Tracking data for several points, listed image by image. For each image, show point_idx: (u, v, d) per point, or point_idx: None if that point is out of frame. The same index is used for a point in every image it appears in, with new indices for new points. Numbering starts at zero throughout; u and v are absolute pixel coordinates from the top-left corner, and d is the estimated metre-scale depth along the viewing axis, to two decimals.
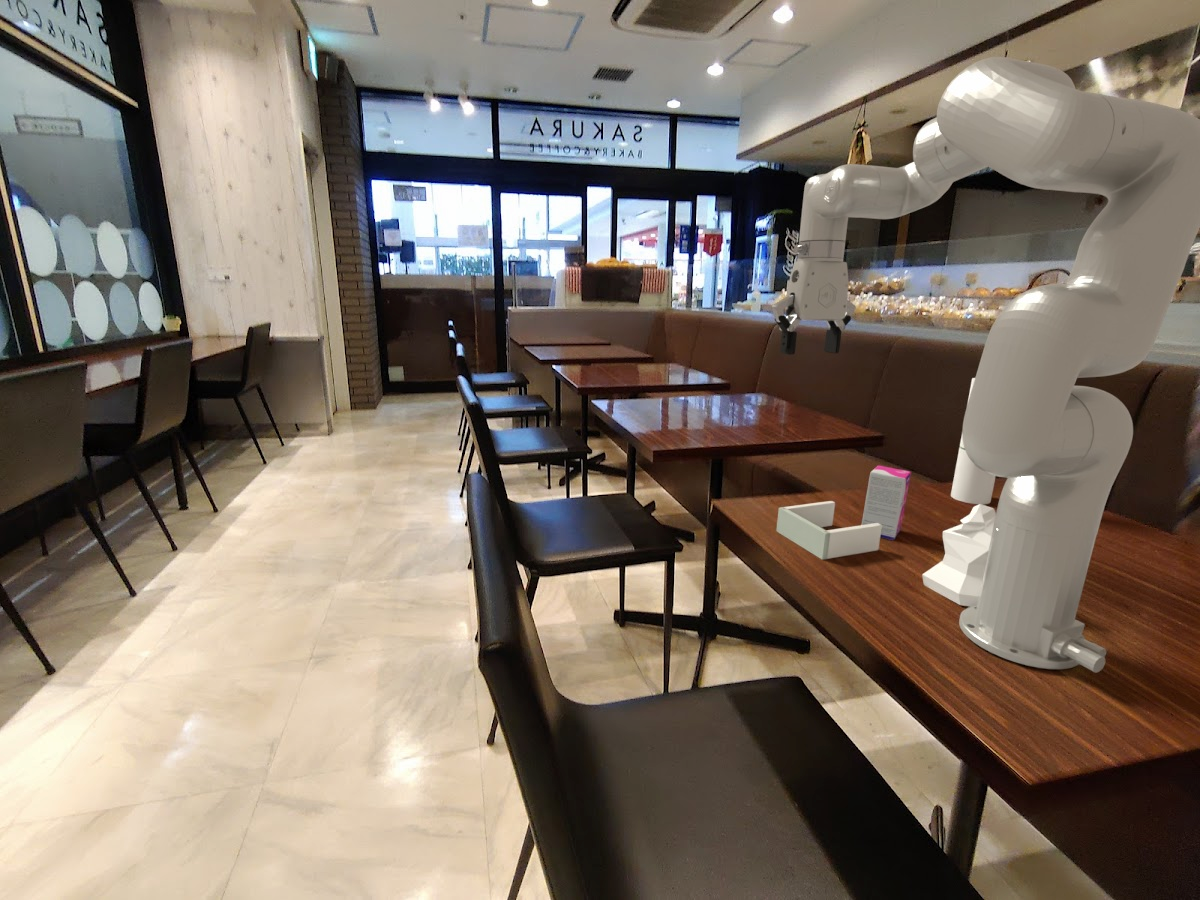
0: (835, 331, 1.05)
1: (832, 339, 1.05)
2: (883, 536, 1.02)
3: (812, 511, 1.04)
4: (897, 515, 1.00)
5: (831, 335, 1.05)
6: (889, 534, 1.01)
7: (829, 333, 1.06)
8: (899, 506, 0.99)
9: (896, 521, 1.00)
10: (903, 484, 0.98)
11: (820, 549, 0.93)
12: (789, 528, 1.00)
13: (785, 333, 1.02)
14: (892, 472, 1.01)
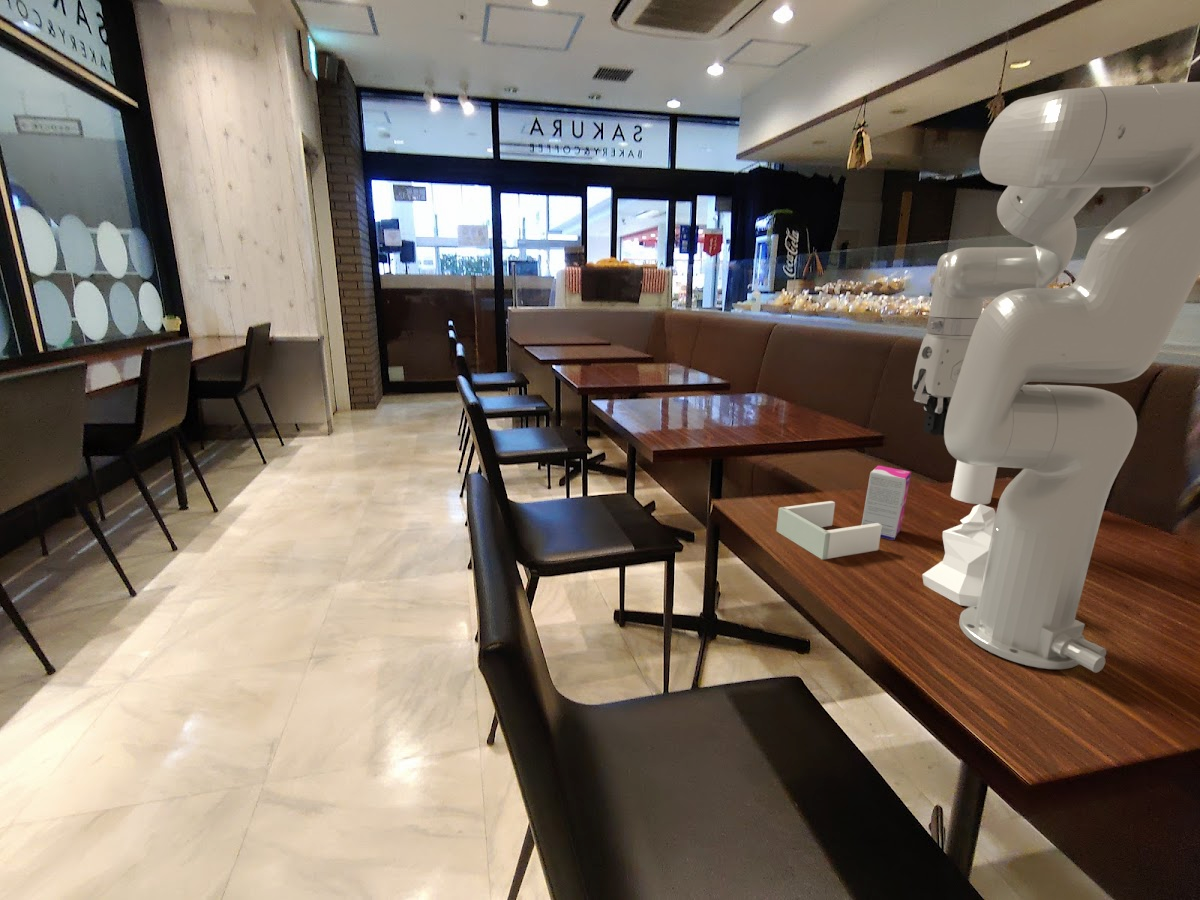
0: (941, 413, 1.01)
1: None
2: (883, 536, 1.02)
3: (812, 511, 1.04)
4: (897, 515, 1.00)
5: None
6: (889, 534, 1.01)
7: None
8: (899, 506, 0.99)
9: (896, 521, 1.00)
10: (903, 484, 0.98)
11: (820, 549, 0.93)
12: (789, 528, 1.00)
13: (932, 414, 1.01)
14: (892, 472, 1.01)
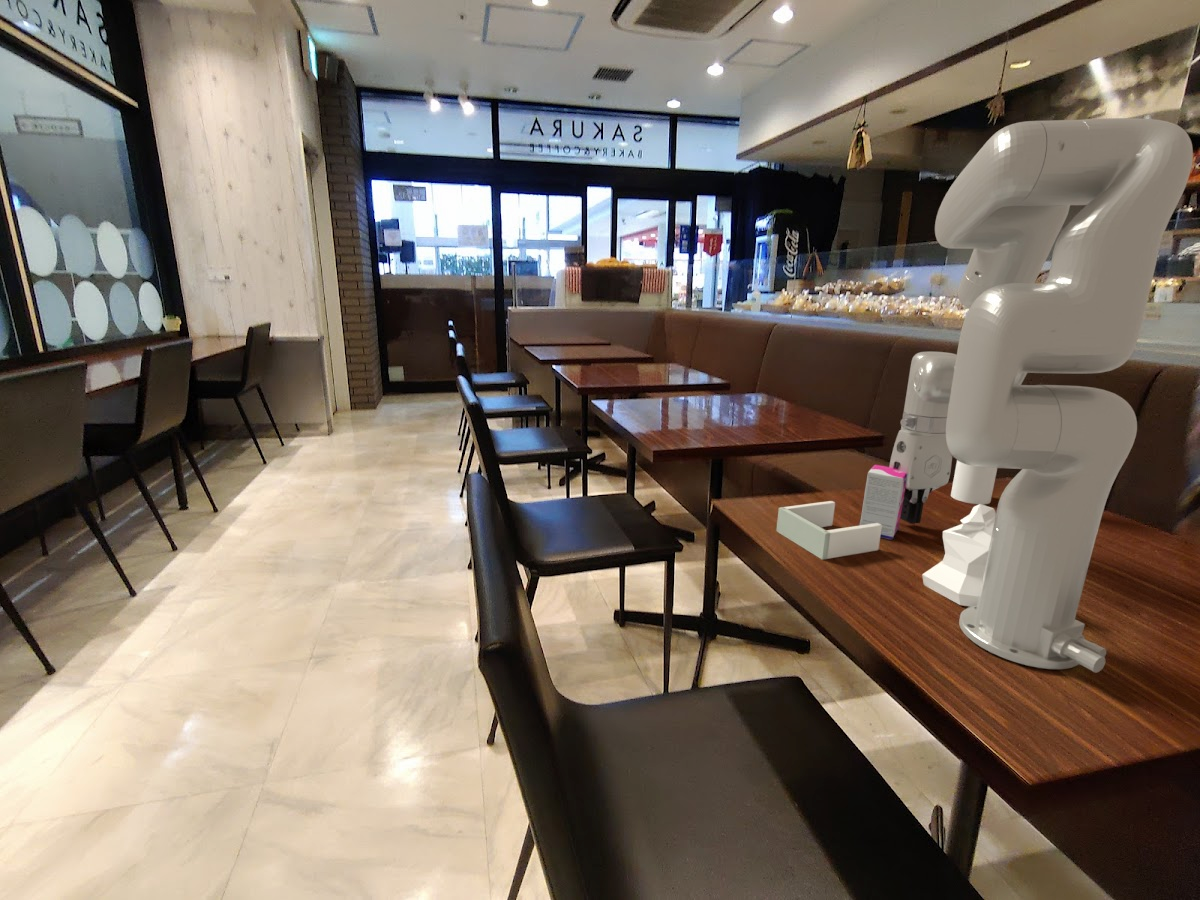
0: (917, 502, 1.05)
1: None
2: (882, 536, 1.02)
3: (812, 511, 1.04)
4: (895, 515, 1.00)
5: None
6: (888, 533, 1.01)
7: None
8: (897, 506, 0.99)
9: (894, 520, 1.00)
10: (901, 484, 0.98)
11: (820, 549, 0.93)
12: (789, 528, 1.00)
13: (907, 503, 1.05)
14: (889, 471, 1.01)
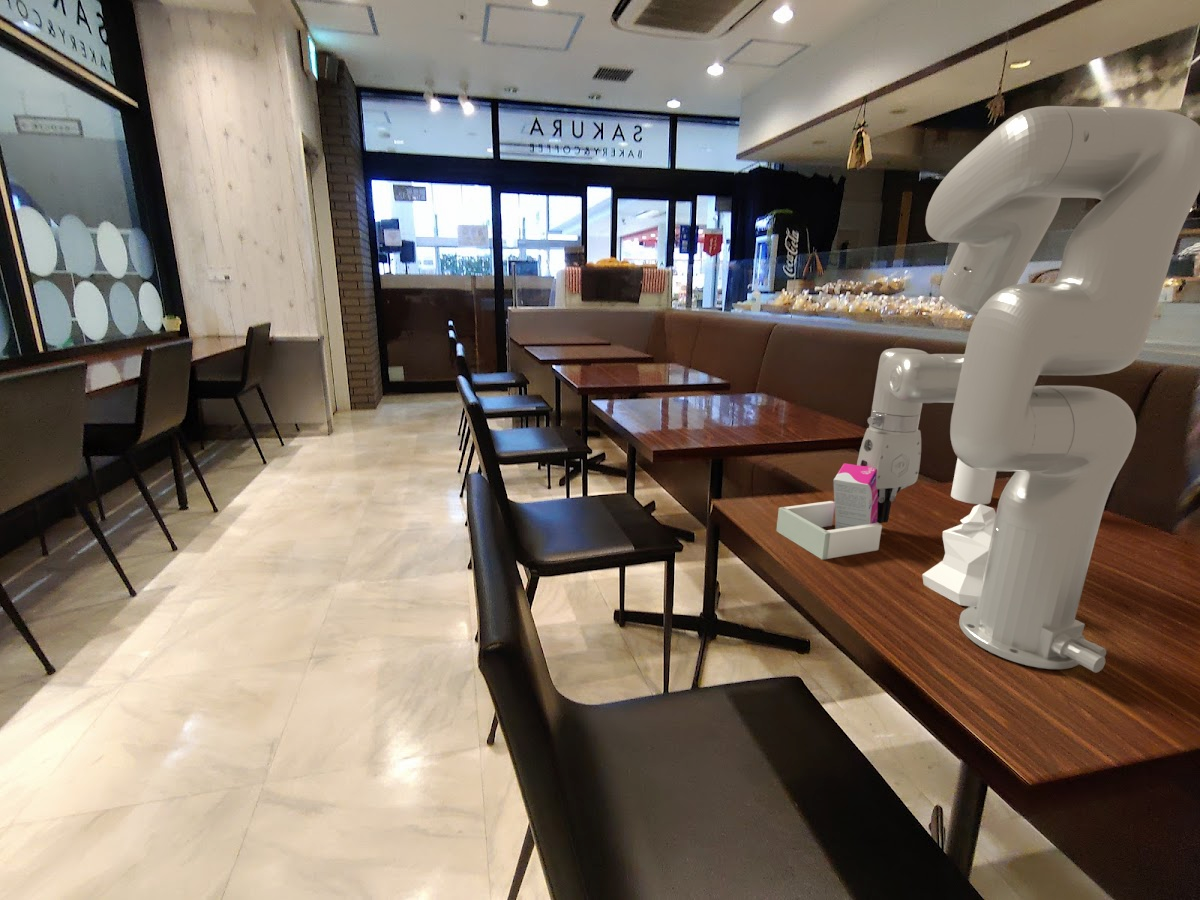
0: (884, 501, 1.03)
1: None
2: None
3: (812, 511, 1.04)
4: (867, 517, 0.98)
5: None
6: None
7: None
8: (867, 509, 0.97)
9: (867, 522, 0.98)
10: (867, 490, 0.95)
11: (820, 549, 0.93)
12: (789, 528, 1.00)
13: None
14: (856, 475, 0.98)
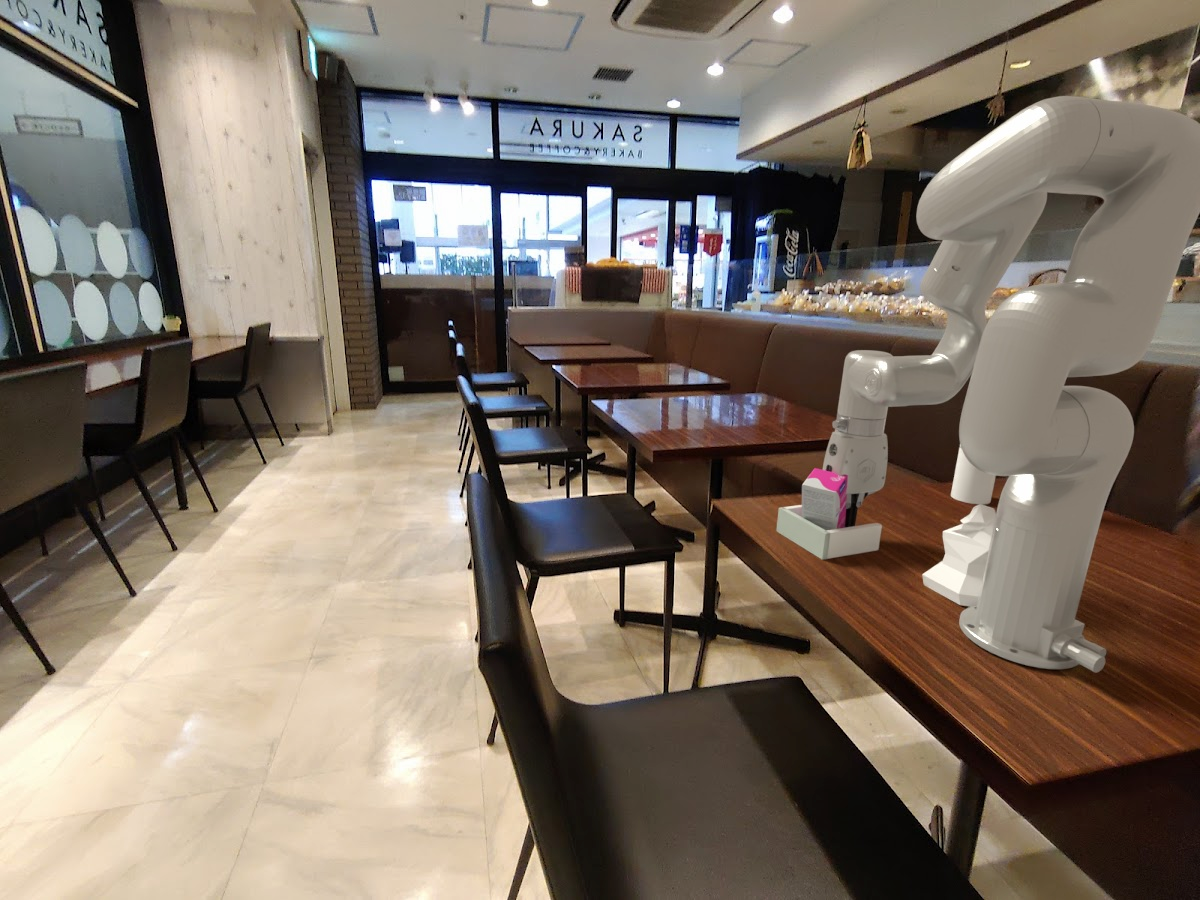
0: (851, 507, 1.01)
1: None
2: None
3: None
4: (833, 525, 0.95)
5: None
6: None
7: None
8: (834, 517, 0.94)
9: None
10: (835, 497, 0.93)
11: (820, 549, 0.93)
12: (789, 528, 1.00)
13: None
14: (825, 481, 0.95)
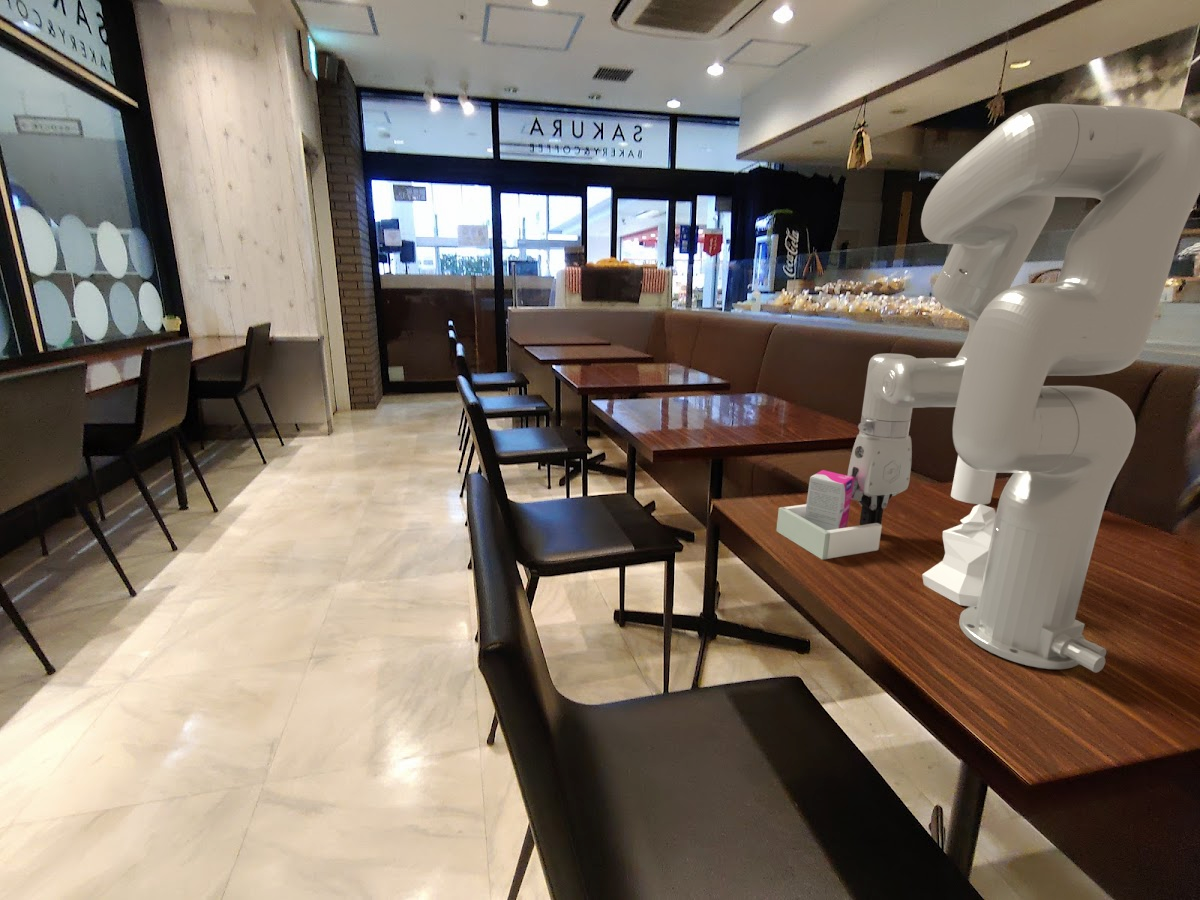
0: (876, 508, 1.02)
1: None
2: None
3: None
4: (836, 522, 0.96)
5: None
6: None
7: None
8: (838, 512, 0.96)
9: (835, 528, 0.97)
10: (841, 490, 0.95)
11: (820, 549, 0.93)
12: (789, 528, 1.00)
13: (867, 510, 1.02)
14: (833, 477, 0.98)
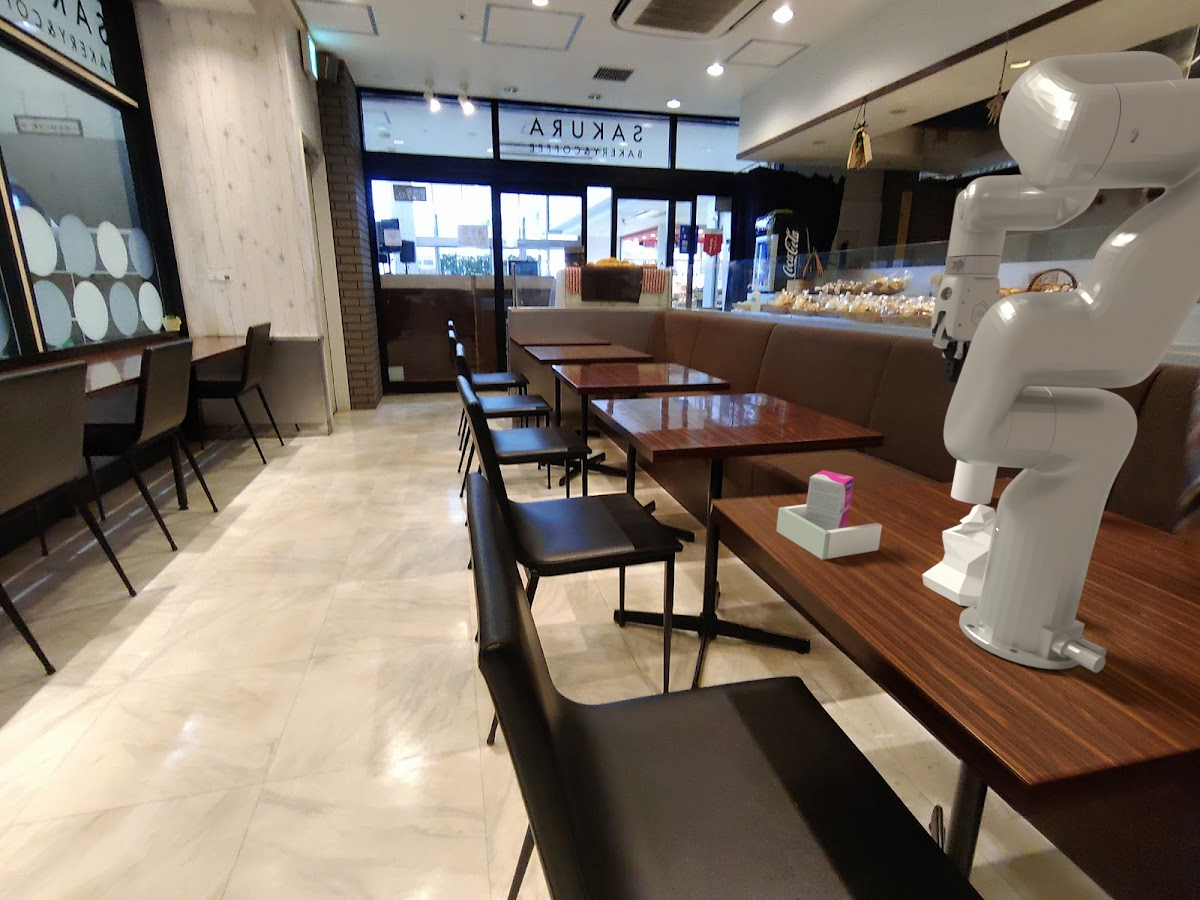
0: (961, 359, 0.97)
1: None
2: None
3: None
4: (836, 522, 0.96)
5: None
6: None
7: None
8: (838, 512, 0.96)
9: (835, 528, 0.97)
10: (841, 490, 0.95)
11: (820, 549, 0.93)
12: (789, 528, 1.00)
13: (951, 360, 0.97)
14: (833, 477, 0.98)
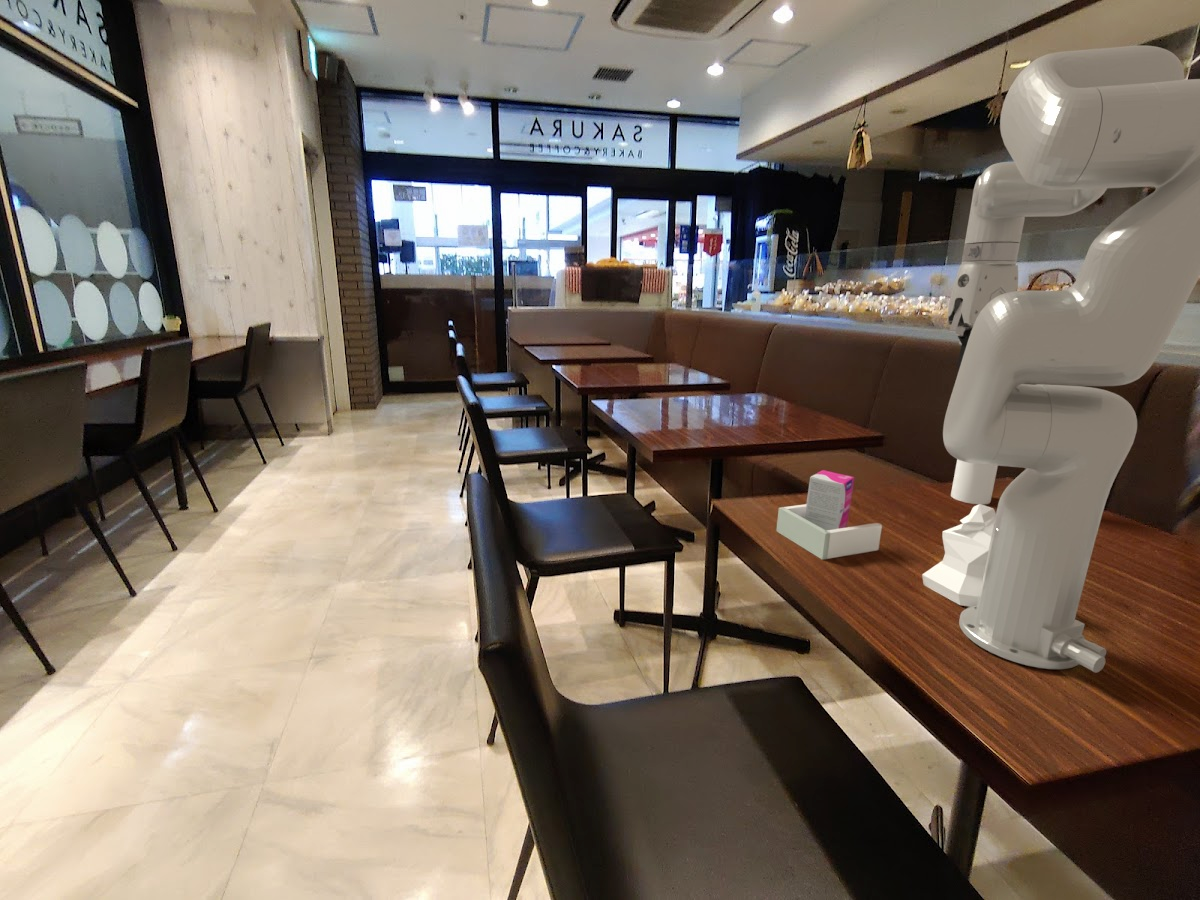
0: None
1: None
2: None
3: None
4: (836, 522, 0.96)
5: None
6: None
7: None
8: (838, 512, 0.96)
9: (835, 528, 0.97)
10: (841, 490, 0.95)
11: (820, 549, 0.93)
12: (789, 528, 1.00)
13: None
14: (833, 477, 0.98)
